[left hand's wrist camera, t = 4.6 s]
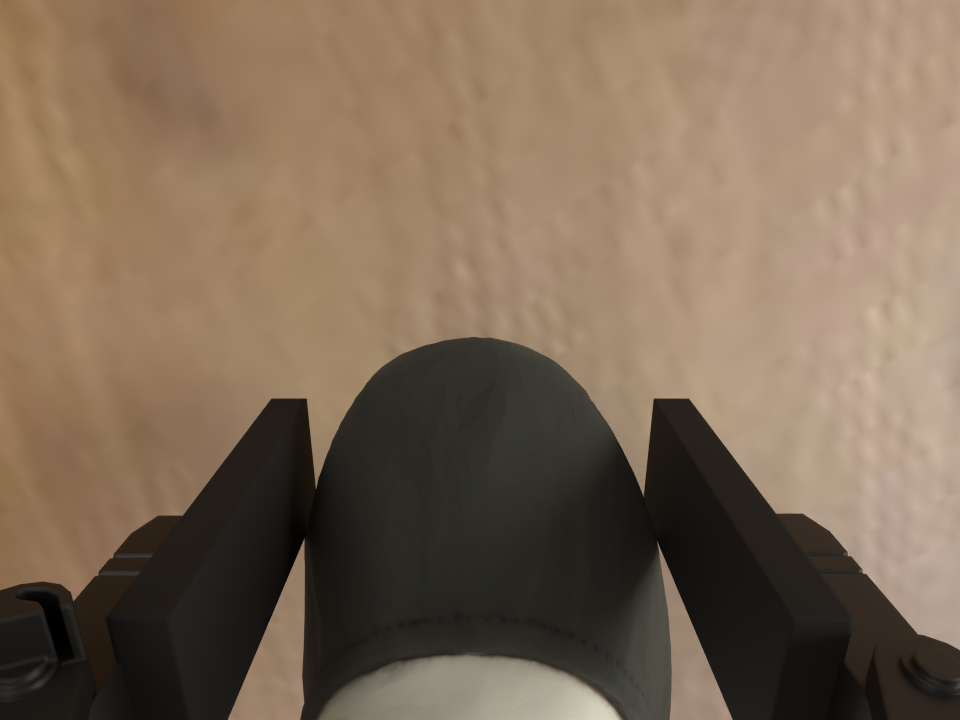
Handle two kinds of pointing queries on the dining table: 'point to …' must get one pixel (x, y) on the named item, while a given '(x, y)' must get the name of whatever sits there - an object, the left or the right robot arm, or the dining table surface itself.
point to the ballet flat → (481, 551)
